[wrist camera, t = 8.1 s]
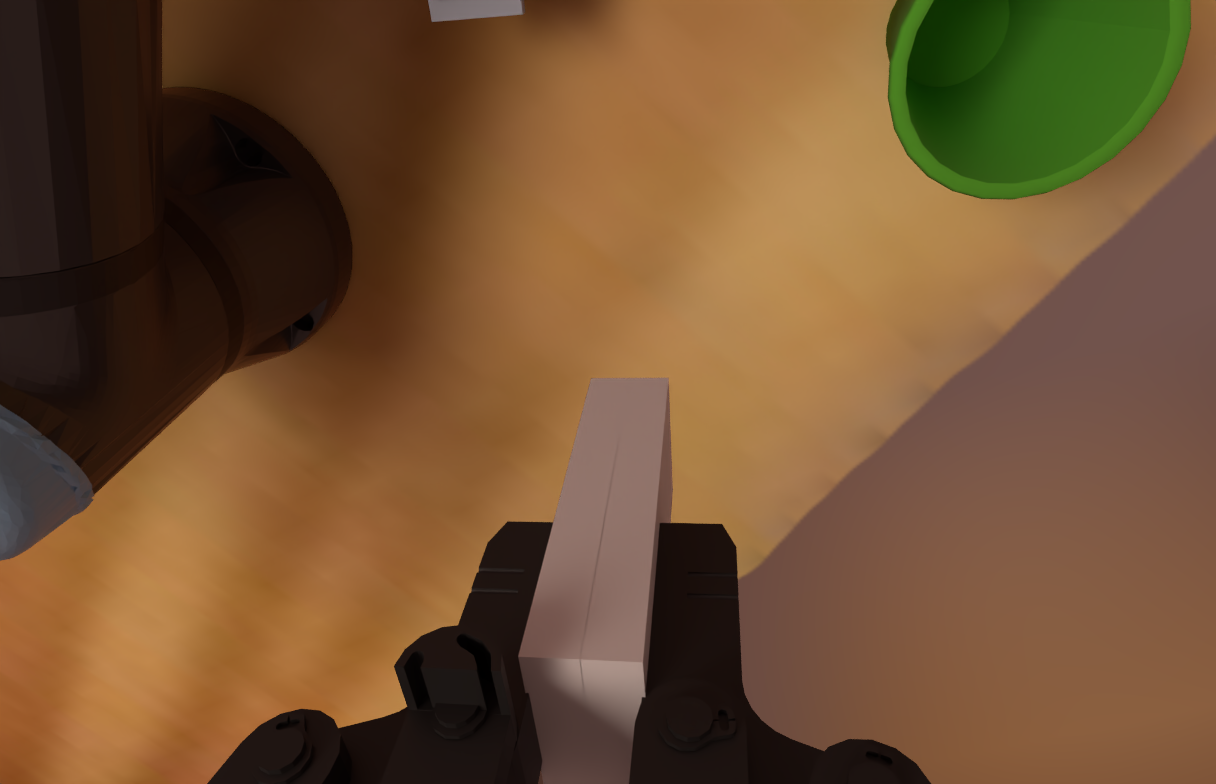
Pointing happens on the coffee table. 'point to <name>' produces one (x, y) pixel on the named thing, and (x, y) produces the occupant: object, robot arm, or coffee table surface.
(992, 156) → the cup
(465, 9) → the grey slab
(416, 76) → the coffee table surface
